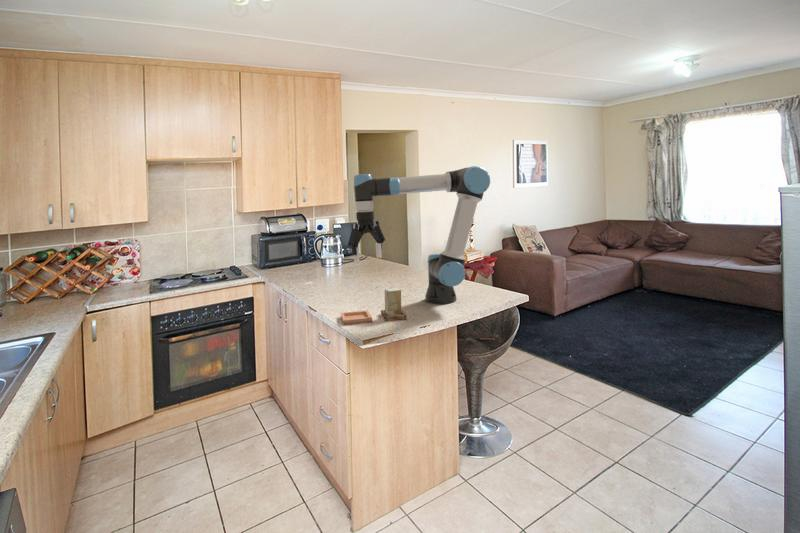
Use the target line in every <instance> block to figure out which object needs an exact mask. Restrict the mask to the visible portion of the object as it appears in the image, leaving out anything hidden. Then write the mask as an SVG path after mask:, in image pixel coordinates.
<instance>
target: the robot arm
mask: <svg viewBox="0 0 800 533" xmlns="http://www.w3.org/2000/svg"><path fill="white" fill-rule="evenodd" d="M490 184H491V176H490V174H489V172H488V170H486V169H485V168H484V167H482V166H476V165H471V166H469V167H463V168H459V169H457V170H456V169H455V170H452V171H445V173H442V174H428V175H427V174H425V175H416V176H415V175H414V176H403V177H402V176H401V177H400V176H399V177H392V176H391V177H380V178H373V177H372V175H371V174H370V173H368V174H367V173H366V174H363V173H362V174H355V175H354V176H353V190H354V201H355V211H356V213H355V214H356V215H355V216H356V221H357V223H353V224H352V225H351V232H350V236H349V239H348V243H347V247H349V248H351V251H352V256H353V262H354V264H361V261H360V249H359V244H360V242H361V240H362V238H363V235H365V234H367V233H370V235H371V236H372V238H373V239H374V240H375V256H376V259H378V258H379V259H382V258H383V255H382V250H383V243H384V241H386V239H385V236H384V234H383V231H382V228H381V226H380V222H379V221H378V220H375V212H374V211H373V210H374V198H373V197H389V196H398V195H403V194H404V195H405V194H417V193H418V194H419V193H430V192H443V191H444V192H445V191H446V193H456V196H457V198H458V200H457V203H456V208H455V211H454V214H453V219H452V222H451V226H450V231H449V233H448V237H447V242H446V245H445V249H444V250H443V251H441V252H440V253H433V254H429V255H428V257H427V258H428V259H427V263H428V264H427V266H428V267H427V269H428V272H427V273H428V275H427V276H428V286H427V290H426V292H425V295H424V296H425V297H424V298H425V299H424V300H425V302H427V303H431V304H436V305H437V304H439V305H441V304H443V305H444V304H451V303H455V302H456V301H457V294H456V290H455V288H454V287H456V286H458V285H459V284H461V283H462V282H463V281H464V280H465V277H466V269H465V263H466V257H465V250H466V247H467V243H468V241H469V240H468V239H469V235H470V231H471V230H472V228H471V227H472V224H473V220H474V217H475V213H476V210H477V206H478V203H480V202H481V201H482V199H483V197H484V193H486V191H487V190H488V189H489V188H490Z"/></svg>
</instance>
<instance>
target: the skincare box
mask: <svg viewBox="0 0 800 533" xmlns="http://www.w3.org/2000/svg"><path fill="white" fill-rule="evenodd" d="M401 309H402V289H400V288H398V287H396V288H395V287H394V288H386V289H384V310H385V313H386V315H387V316H394V315H401Z"/></svg>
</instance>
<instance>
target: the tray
mask: <svg viewBox="0 0 800 533" xmlns="http://www.w3.org/2000/svg"><path fill="white" fill-rule="evenodd" d="M340 318H341V322H342V325H343V326H350V325H359V324H361V325H362V324H370V323H373V316H372V315H371V312H370V311H369V310H357V311H343V312H340Z"/></svg>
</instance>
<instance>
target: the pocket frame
mask: <svg viewBox="0 0 800 533" xmlns="http://www.w3.org/2000/svg"><path fill="white" fill-rule="evenodd" d="M380 315H381V316H382V318H383V320H384V322H396V321H405V320H406V321H407V319H408V316H407V314H406V312H405V311H404V310H403V309H402V308H401V315H394V316H387V315H386V313H385V309H381V310H380Z"/></svg>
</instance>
